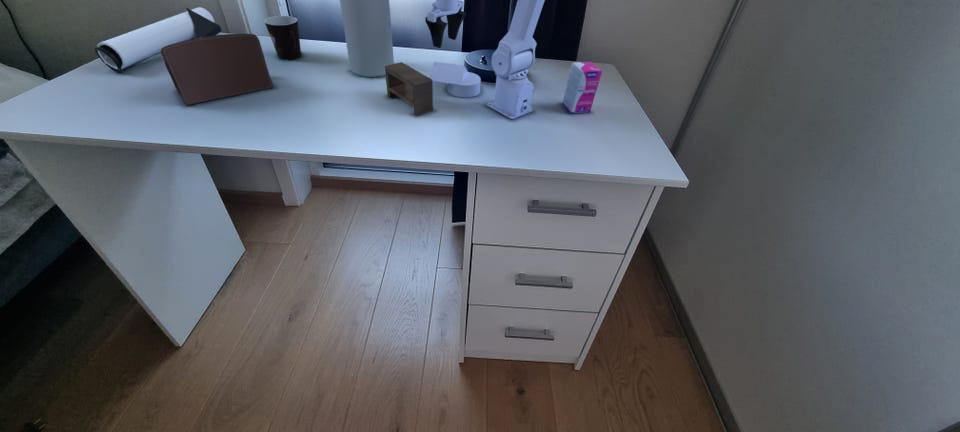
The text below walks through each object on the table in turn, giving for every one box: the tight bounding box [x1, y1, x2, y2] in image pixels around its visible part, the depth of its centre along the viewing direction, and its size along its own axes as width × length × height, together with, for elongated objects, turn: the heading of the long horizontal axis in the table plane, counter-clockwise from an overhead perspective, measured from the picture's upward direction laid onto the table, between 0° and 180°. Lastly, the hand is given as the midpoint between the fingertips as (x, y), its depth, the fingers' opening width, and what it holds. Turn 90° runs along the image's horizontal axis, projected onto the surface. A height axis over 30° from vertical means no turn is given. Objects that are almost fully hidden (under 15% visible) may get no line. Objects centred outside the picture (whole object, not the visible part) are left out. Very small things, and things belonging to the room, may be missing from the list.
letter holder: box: [161, 33, 274, 107], centre depth 95 cm, size 10×20×14 cm, turn 129°
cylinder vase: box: [339, 0, 395, 78], centre depth 107 cm, size 12×12×25 cm
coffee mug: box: [263, 15, 302, 61], centre depth 114 cm, size 12×9×10 cm
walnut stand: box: [385, 62, 434, 117], centre depth 98 cm, size 13×5×8 cm, turn 42°
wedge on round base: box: [429, 61, 482, 98], centre depth 107 cm, size 9×7×13 cm
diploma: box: [94, 6, 223, 74], centre depth 111 cm, size 35×9×14 cm
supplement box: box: [561, 61, 603, 114], centre depth 101 cm, size 6×6×12 cm
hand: (444, 42), depth 108 cm, fingers open, 7 cm apart
